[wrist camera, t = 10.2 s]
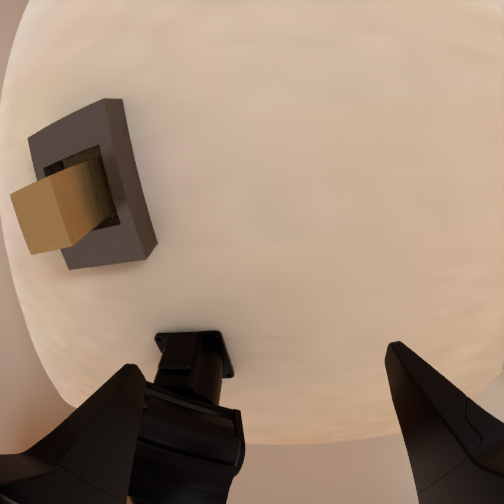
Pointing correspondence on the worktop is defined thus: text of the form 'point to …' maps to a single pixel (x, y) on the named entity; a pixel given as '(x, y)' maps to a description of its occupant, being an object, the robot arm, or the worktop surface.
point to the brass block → (64, 206)
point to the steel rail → (119, 177)
